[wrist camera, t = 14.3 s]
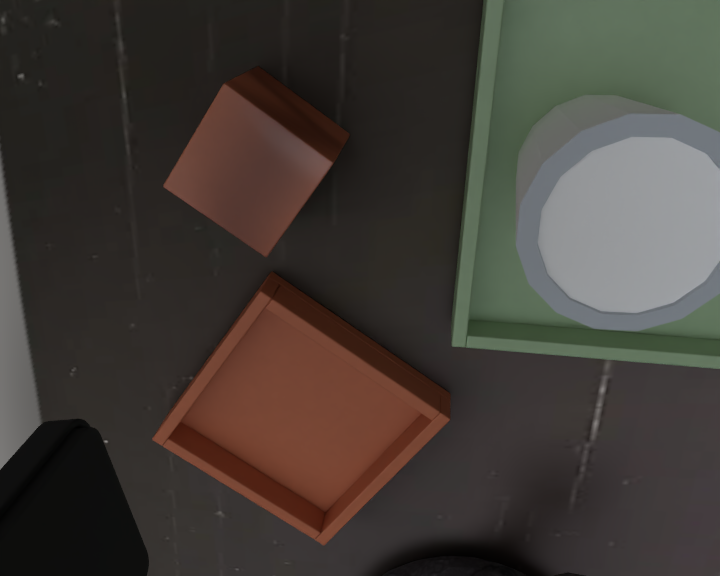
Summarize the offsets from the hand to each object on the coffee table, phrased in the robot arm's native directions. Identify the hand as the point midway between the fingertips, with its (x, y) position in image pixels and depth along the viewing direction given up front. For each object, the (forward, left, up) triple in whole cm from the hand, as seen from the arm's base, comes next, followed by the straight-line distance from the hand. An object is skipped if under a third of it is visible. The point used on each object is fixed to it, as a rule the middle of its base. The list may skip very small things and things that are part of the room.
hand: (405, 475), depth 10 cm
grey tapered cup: (+5, +3, -19) cm, 20 cm away
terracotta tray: (+3, -14, -19) cm, 24 cm away
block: (-5, -4, -19) cm, 20 cm away
